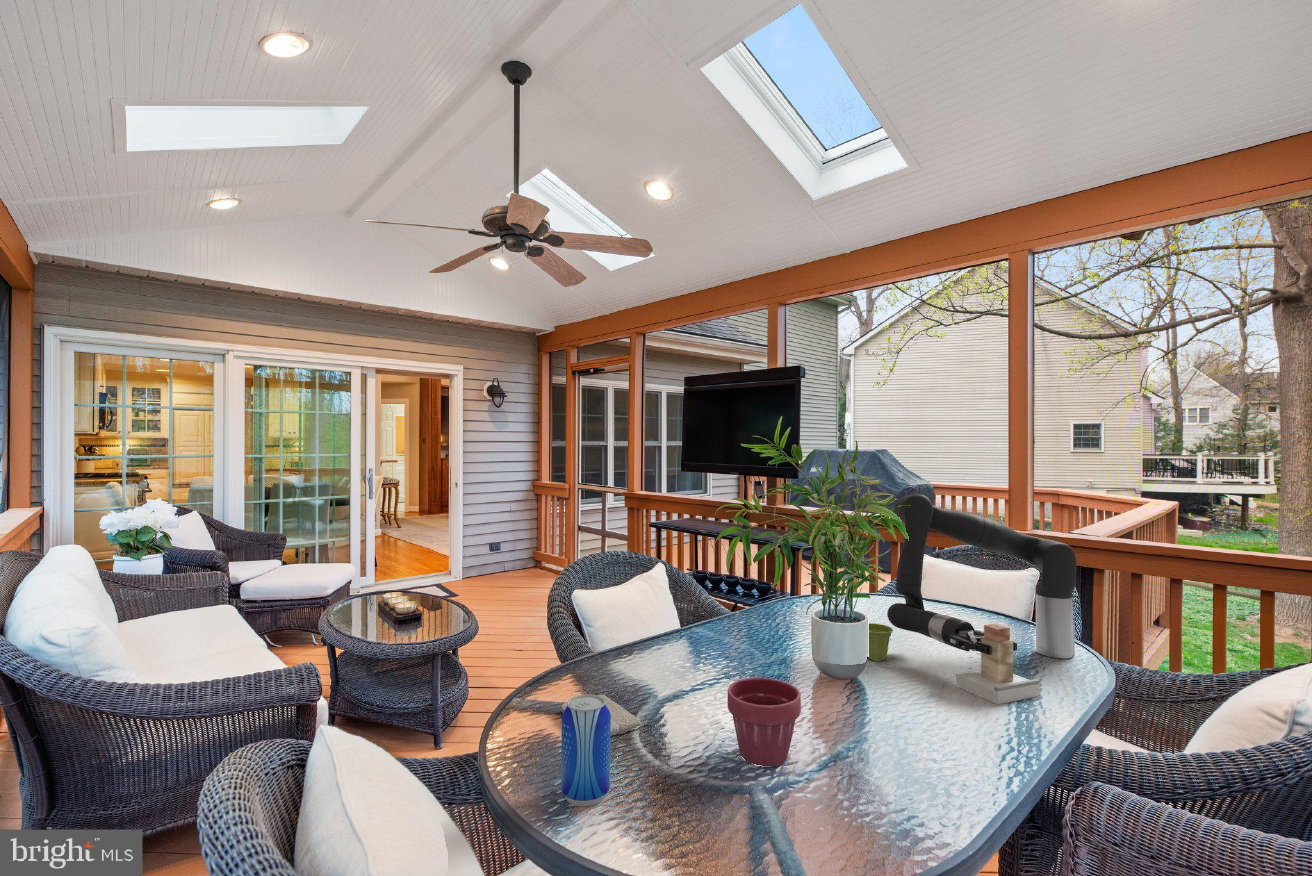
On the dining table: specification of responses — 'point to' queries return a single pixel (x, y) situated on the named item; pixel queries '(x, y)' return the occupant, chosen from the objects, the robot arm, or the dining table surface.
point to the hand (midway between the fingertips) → (1003, 648)
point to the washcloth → (617, 716)
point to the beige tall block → (997, 654)
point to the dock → (998, 687)
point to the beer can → (585, 750)
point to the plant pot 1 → (764, 718)
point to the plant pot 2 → (878, 641)
